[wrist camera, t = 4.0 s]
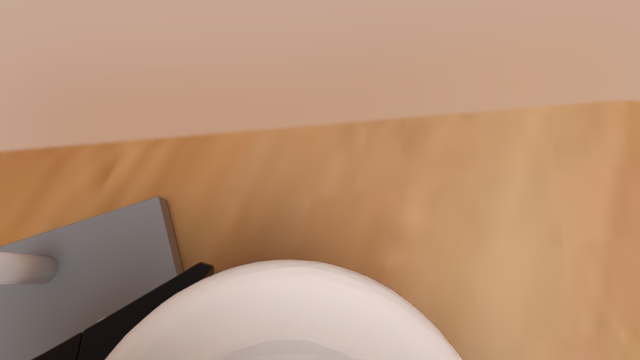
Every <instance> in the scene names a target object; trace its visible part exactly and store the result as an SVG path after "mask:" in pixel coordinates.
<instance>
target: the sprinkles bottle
mask: <svg viewBox="0 0 640 360" xmlns="http://www.w3.org/2000/svg"><path fill="white" fill-rule="evenodd" d="M105 360H462V359H461V357H460V356H459V355H458V353H457V352H456V351H455V349H454V348H453V347H452V346H451V345H450V343H449V342H448V341H447V340H446V338H445V337H444V336H443V335H442V333H441V332H440V331H439V330H438V329H437V328H436V327H435V326H434V325H433V323H432V322H431V321H430V320H429V319H428V318H426V317H425V316H424V315H423V314H422V313H421V312H420V311H418V310H417V309H416V308H415V307H414V306H412V305H411V304H410V303H409V302H407V301H406V300H405V299H403V298H402V297H401V296H399V295H398V294H397V293H395V292H394V291H393V290H391V289H389V288H388V287H386V286H384V285H382V284H381V283H379V282H377V281H375V280H373V279H371V278H369V277H366V276H364V275H362V274H360V273H357V272H355V271H352V270H349V269H345V268H342V267H339V266H335V265H331V264H327V263H323V262H317V261H306V260H294V259H292V260H271V261H261V262H255V263H250V264H245V265H241V266H237V267H234V268H231V269H227V270H224V271H222V272H219V273H217V274H214V275H212V276H210V277H207V278H205V279H202V280H200V281H198V282H197V283H195V284H193V285H191V286H189V287H187V288H186V289H184V290H182V291H180V292H178V293H176V294H175V295H173V296H172V297H171V298H169V299H168V300H166V301H165V302H163V303H162V304H161V305H160V306H158V307H157V308H156V309H155V310H153V311H152V312H151V313H150V314H149V315H148V316H146V317H145V318H144V319H143V320H142V321H141V322H140V323H139V324H137V325H136V326H135V327H134V328H133V329H132V330H131V331H130V332H129V333H127V334H126V335H125V337H124V338H123V339H122V340H121V341H120V342H119V343H118V345H117V346H116V347H115V348H114V349H113V350H112V352H111V353H110V354H109V355H108V357H107V358H106V359H105Z"/></svg>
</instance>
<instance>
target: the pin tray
mask: <svg viewBox="0 0 640 360" xmlns="http://www.w3.org/2000/svg"><path fill="white" fill-rule="evenodd" d="M182 272H184V271H183V267H182V263H181V259H180V255H179V251H178V247H177V242H176V238H175V234H174V230H173V226H172V222H171V218H170V214H169V210H168V205H167V201H166V200H164V199H162V198H160V197H159V196H157V197H154V198H151V199H148V200H145V201H142V202H139V203H136V204H133V205H129V206H126V207H123V208H120V209H117V210H114V211H111V212H108V213H104V214H101V215H98V216H95V217H92V218H89V219H86V220H83V221H79V222H76V223H73V224H70V225H67V226H64V227H61V228H58V229H55V230H51V231H48V232H45V233H42V234H39V235H36V236H33V237H30V238H26V239H23V240H20V241H17V242H14V243H11V244H8V245H5V246H1V247H0V360H31V359H33V358H35V357H37V356H39V355H41V354H43V353H44V352H46V351H48V350H50V349H52V348H53V347H55V346H57V345H59V344H61V343H62V342H64V341H66V340H68V339H69V338H71V337H73V336H74V335H76V334H78V333H80V332H82V333H83V331H84V330H85V329H87V328H88V327H90V326H92V325H93V324H95V323H97V322H99V321H100V320H102V319H104V318H105V317H107V316H109V315H111V314H112V313H114V312H116V311H117V310H119V309H121V308H123V307H124V306H126V305H128V304H129V303H131V302H133V301H134V300H136V299H138V298H140V297H141V296H143V295H145V294H146V293H148V292H150V291H152V290H153V289H155V288H157V287H158V286H160V285H162V284H164V283H165V282H167V281H169V280H170V279H172V278H174V277H176V276H177V275H179V274H181V273H182Z"/></svg>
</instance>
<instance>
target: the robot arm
mask: <svg viewBox="0 0 640 360" xmlns="http://www.w3.org/2000/svg"><path fill="white" fill-rule="evenodd" d="M212 275H214V266H213V265H210V264H207V263H203V262H200V263H198V264H196V265H194V266H193V267H191V268H189V269H188V270H186V271H184V272H182V273H181V274H179V275H177V276H176V277H174V278H172V279H170V280H169V281H167V282H165V283H164V284H162V285H160V286H158V287H157V288H155V289H153V290H152V291H150V292H148V293H146V294H145V295H143V296H141V297H140V298H138V299H136V300H134V301H133V302H131V303H129V304H128V305H126V306H124V307H123V308H121V309H119V310H117V311H116V312H114V313H112V314H111V315H109V316H107V317H105V318H104V319H102V320H100V321H99V322H97V323H95V324H93V325H92V326H90V327H88V328H87V329H85V330H84V331H83V333H82V332H80V333H78V334H76V335H74V336H73V337H71V338H69V339H68V340H66V341H64V342H62V343H61V344H59V345H57V346H55V347H53V348H52V349H50V350H48V351H46V352H44V353H43V354H41V355H39V356H37V357H35V358H33V359H31V360H105V359H106V358H107V357H108V355H109V354H110V353H111V352H112V350H113V349H114V348H115V347H116V346H117V345H118V343H119V342H120V341H121V340H122V339H123V338H124V337H125V335H126V334H127V333H129V332H130V331H131V330H132V329H133V328H134V327H135V326H136V325H137V324H139V323H140V322H141V321H142V320H143V319H144V318H145V317H146V316H148V315H149V314H150V313H151V312H152V311H153V310H155V309H156V308H157V307H158V306H160V305H161V304H162V303H163V302H165V301H166V300H168V299H169V298H171V297H172V296H173V295H175V294H176V293H178V292H180V291H182V290H184V289H186V288H187V287H189V286H191V285H193V284H195V283H197V282H198V281H200V280H202V279H205V278H207V277H210V276H212Z"/></svg>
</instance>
